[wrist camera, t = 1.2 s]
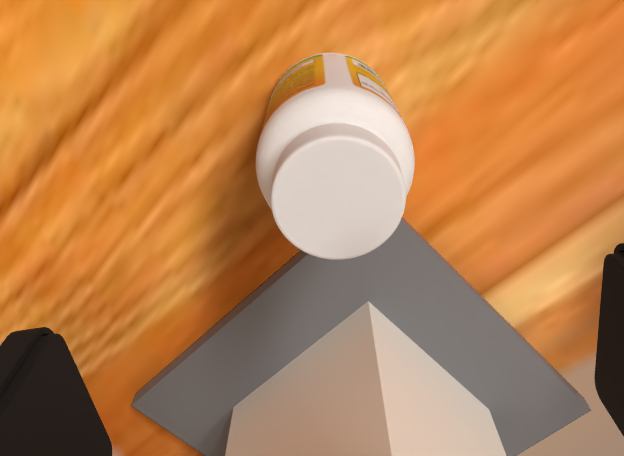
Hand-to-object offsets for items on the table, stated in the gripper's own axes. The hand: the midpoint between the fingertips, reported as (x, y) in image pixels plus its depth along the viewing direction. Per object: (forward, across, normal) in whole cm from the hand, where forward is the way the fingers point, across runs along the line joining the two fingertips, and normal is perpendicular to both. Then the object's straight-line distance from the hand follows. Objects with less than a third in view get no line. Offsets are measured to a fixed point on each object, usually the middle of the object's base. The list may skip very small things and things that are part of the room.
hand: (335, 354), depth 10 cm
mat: (+17, 0, +17) cm, 24 cm away
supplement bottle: (+17, 0, +1) cm, 17 cm away
